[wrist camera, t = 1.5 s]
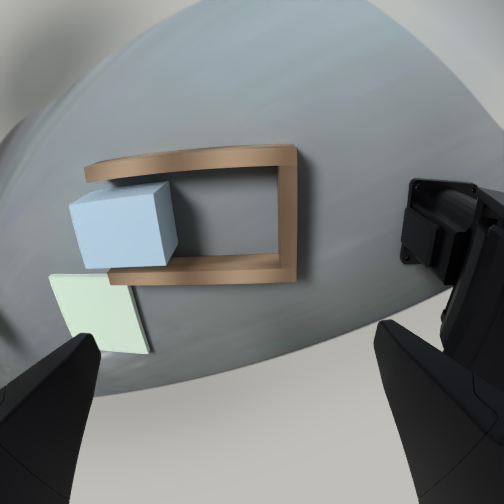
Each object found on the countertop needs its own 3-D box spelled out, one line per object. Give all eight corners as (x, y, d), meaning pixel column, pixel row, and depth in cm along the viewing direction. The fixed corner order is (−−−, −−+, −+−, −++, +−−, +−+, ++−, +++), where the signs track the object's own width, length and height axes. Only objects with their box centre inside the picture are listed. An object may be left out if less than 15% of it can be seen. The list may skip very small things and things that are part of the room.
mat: (127, 273, 22) (124, 277, 22) (150, 349, 26) (148, 354, 25) (51, 273, 22) (48, 277, 22) (79, 343, 26) (77, 347, 25)
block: (169, 180, 19) (153, 193, 16) (179, 242, 21) (166, 265, 18) (93, 190, 20) (68, 205, 16) (106, 246, 21) (85, 268, 18)
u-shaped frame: (292, 144, 18) (296, 147, 16) (292, 265, 22) (295, 281, 20) (99, 161, 18) (84, 167, 16) (121, 270, 22) (110, 285, 20)
